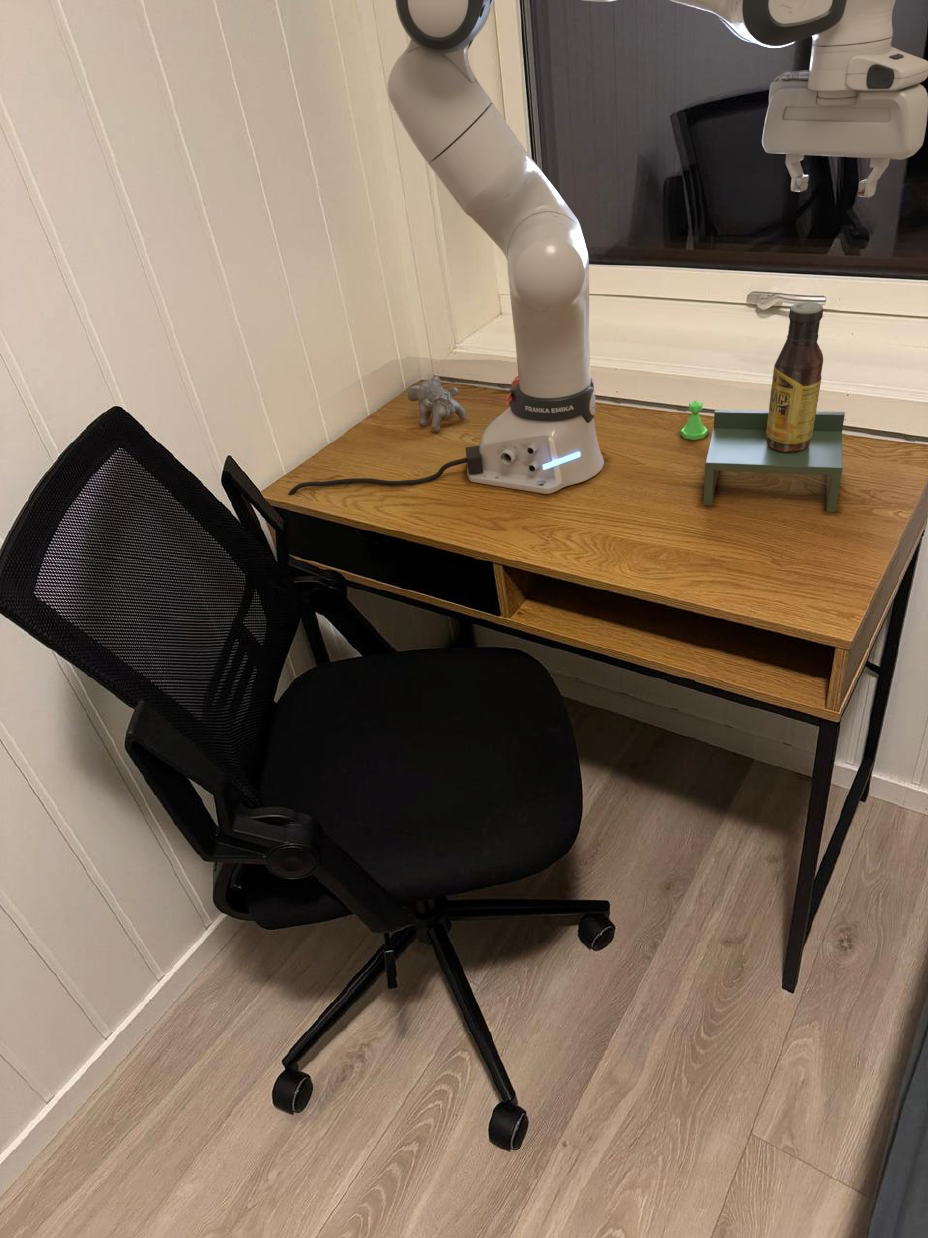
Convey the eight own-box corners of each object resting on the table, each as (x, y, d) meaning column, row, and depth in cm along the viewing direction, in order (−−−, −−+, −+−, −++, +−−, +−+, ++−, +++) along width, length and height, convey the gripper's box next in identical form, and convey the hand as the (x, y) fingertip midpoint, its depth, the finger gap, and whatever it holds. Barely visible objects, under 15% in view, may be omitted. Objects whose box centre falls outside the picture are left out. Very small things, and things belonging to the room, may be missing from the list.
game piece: (694, 426, 146) (695, 392, 142) (713, 433, 143) (714, 400, 139) (675, 434, 144) (676, 401, 141) (694, 442, 141) (695, 408, 138)
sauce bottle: (758, 438, 125) (771, 301, 113) (801, 432, 125) (818, 294, 113) (775, 458, 120) (790, 317, 108) (819, 452, 120) (839, 309, 108)
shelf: (703, 505, 125) (706, 445, 120) (711, 466, 134) (715, 409, 128) (835, 512, 120) (845, 450, 114) (835, 471, 128) (844, 411, 123)
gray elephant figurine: (446, 437, 155) (439, 397, 150) (394, 427, 161) (386, 389, 156) (473, 416, 160) (468, 376, 156) (422, 407, 167) (416, 370, 162)
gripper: (757, 74, 109) (748, 192, 117) (917, 72, 96) (894, 205, 104) (785, 66, 112) (774, 182, 120) (944, 62, 99) (919, 193, 107)
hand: (831, 193), depth 112 cm, fingers open, 8 cm apart
